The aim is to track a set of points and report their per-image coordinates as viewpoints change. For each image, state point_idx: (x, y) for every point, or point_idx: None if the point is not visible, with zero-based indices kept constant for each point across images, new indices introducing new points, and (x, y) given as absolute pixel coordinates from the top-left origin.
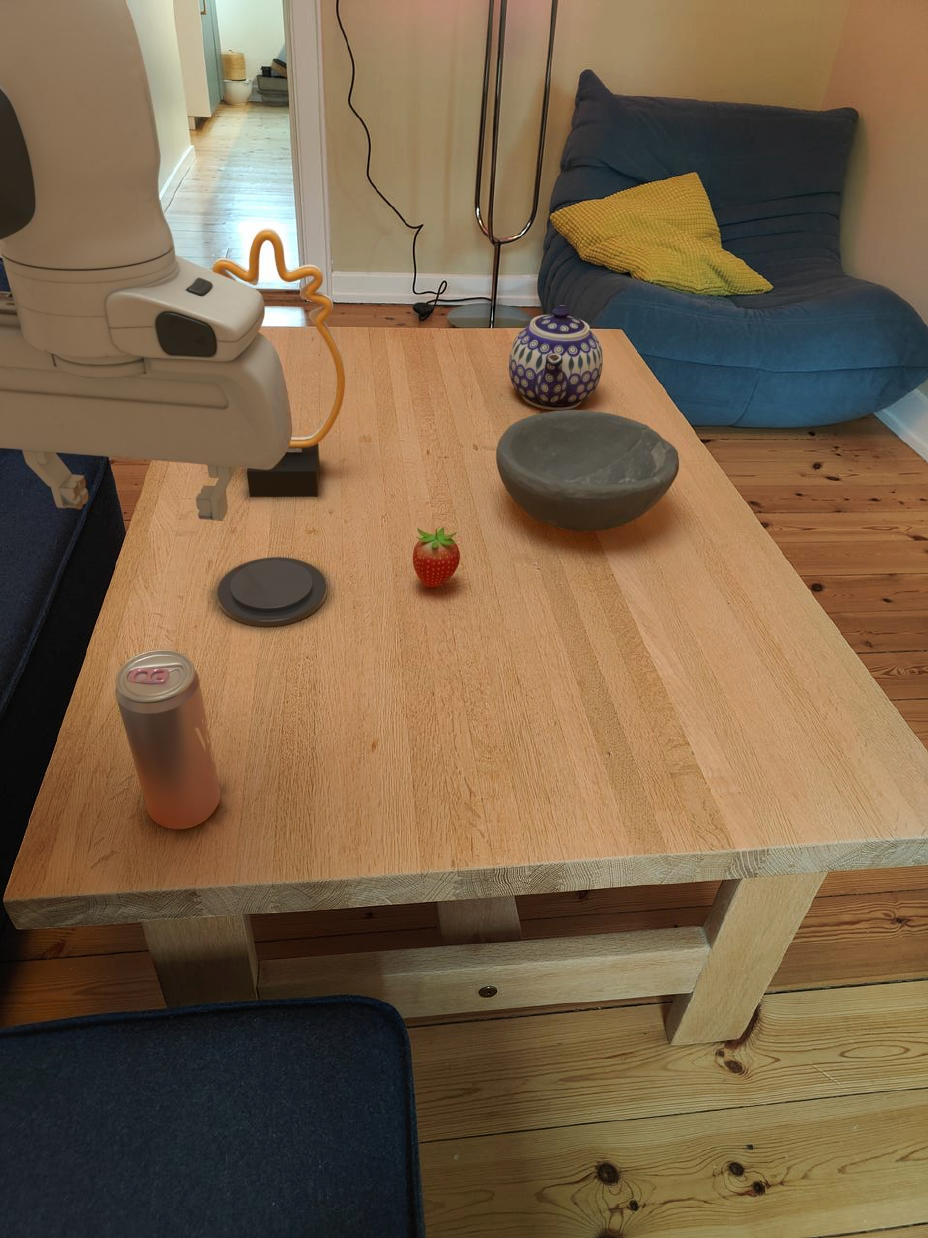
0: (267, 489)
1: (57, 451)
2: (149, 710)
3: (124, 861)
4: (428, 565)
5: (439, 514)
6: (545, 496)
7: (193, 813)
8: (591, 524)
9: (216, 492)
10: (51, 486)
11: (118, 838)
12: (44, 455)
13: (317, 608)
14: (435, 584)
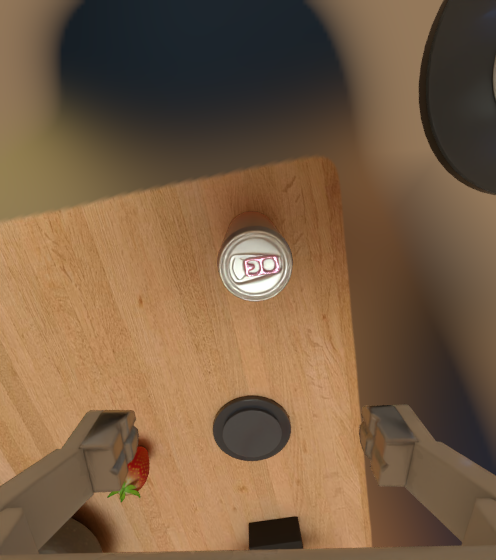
0: (285, 524)
1: (464, 550)
2: (248, 227)
3: (275, 184)
4: (130, 462)
5: (156, 517)
6: (46, 545)
7: (236, 217)
8: None
9: (45, 466)
10: (434, 441)
11: (286, 202)
12: (493, 528)
13: (215, 417)
14: None
